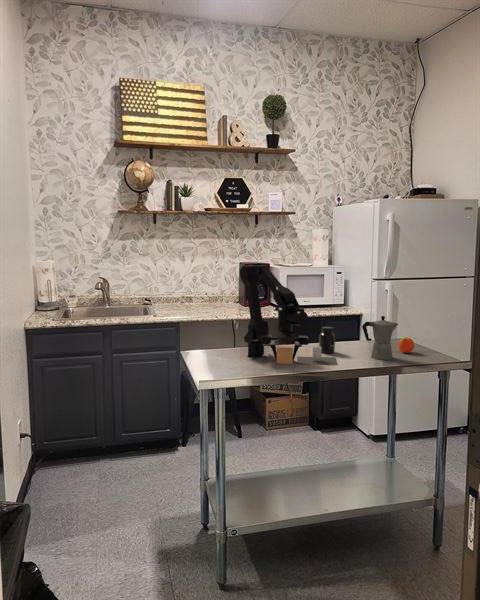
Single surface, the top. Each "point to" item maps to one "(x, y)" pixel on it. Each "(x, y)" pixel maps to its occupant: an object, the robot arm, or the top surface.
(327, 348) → the supplement bottle
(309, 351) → the top surface
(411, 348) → the clementine
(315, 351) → the gray rectangular block
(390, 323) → the coffeepot
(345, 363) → the top surface
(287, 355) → the rounded wooden cube
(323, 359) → the dark gray mat
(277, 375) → the top surface
